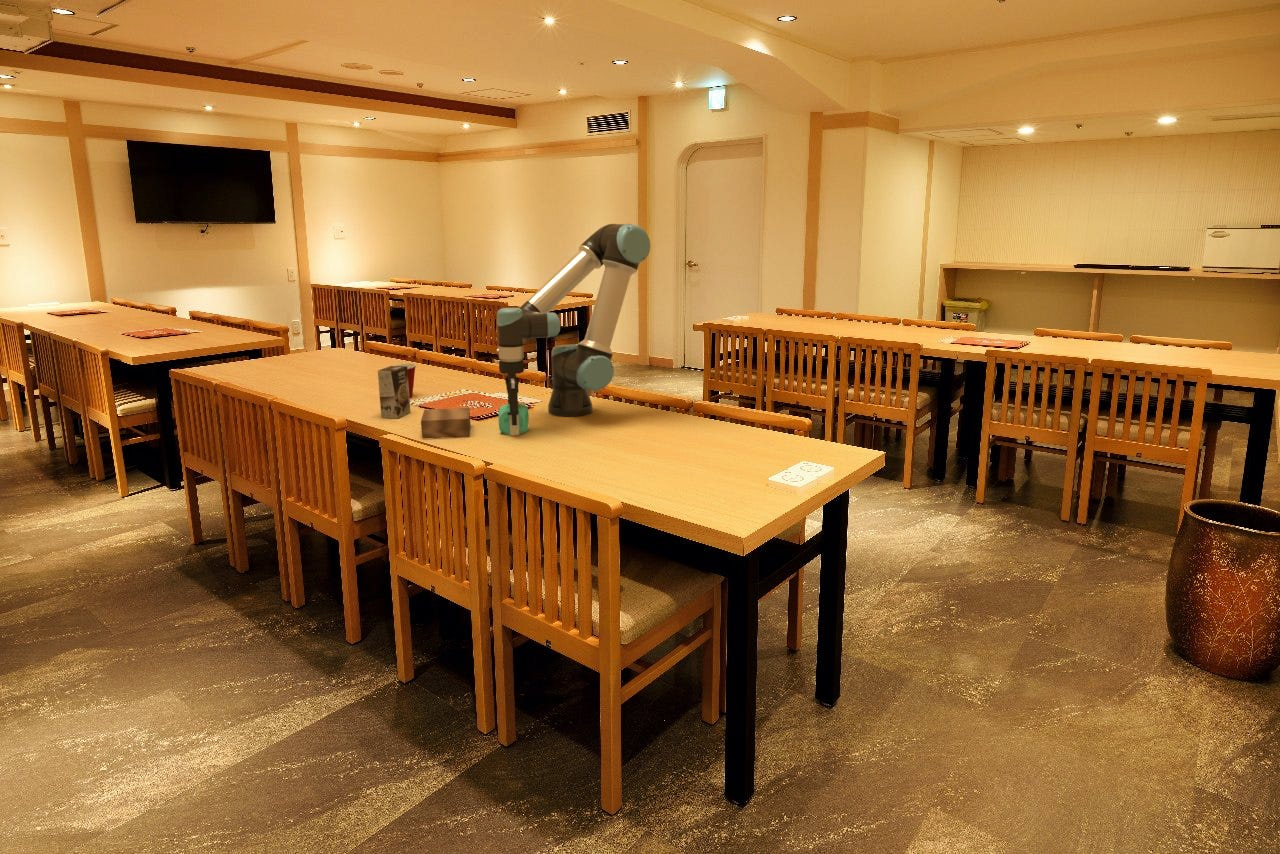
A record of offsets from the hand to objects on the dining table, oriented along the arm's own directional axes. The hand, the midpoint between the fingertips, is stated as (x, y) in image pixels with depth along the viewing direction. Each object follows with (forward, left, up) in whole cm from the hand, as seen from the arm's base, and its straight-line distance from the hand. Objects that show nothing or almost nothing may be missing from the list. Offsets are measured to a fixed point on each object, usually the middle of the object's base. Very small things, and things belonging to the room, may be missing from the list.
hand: (513, 430), depth 247 cm
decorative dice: (0, 0, 0) cm, 0 cm away
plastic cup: (+38, -55, 0) cm, 67 cm away
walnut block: (+20, -4, -1) cm, 21 cm away
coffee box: (+38, -28, 0) cm, 47 cm away
